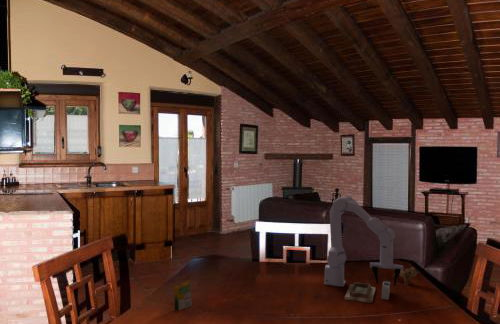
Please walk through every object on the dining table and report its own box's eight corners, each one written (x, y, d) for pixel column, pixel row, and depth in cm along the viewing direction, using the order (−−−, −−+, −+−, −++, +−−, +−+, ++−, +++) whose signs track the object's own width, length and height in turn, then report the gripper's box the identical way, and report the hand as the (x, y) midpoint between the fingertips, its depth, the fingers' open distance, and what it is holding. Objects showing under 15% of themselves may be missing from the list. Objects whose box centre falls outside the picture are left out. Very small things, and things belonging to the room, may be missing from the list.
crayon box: (187, 304, 184) (186, 277, 184) (191, 305, 183) (191, 279, 182) (174, 309, 179) (173, 282, 178) (178, 311, 177) (178, 283, 176)
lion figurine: (418, 285, 210) (419, 267, 209) (412, 287, 207) (412, 269, 206) (393, 277, 222) (394, 260, 222) (387, 279, 219) (387, 262, 218)
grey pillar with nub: (381, 299, 192) (381, 286, 191) (383, 291, 201) (383, 279, 201) (388, 300, 191) (388, 287, 190) (389, 292, 200) (390, 280, 200)
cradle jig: (344, 299, 191) (344, 292, 191) (350, 286, 208) (350, 280, 207) (372, 303, 186) (372, 296, 186) (375, 289, 203) (375, 283, 203)
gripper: (369, 255, 194) (369, 284, 194) (403, 258, 189) (402, 288, 189) (370, 251, 200) (370, 280, 201) (403, 254, 195) (402, 283, 196)
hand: (386, 284), depth 196 cm, fingers open, 7 cm apart
